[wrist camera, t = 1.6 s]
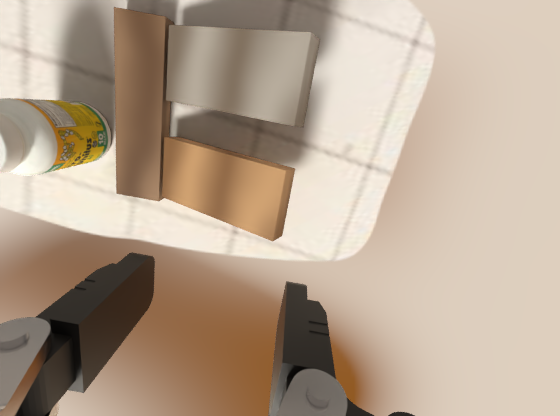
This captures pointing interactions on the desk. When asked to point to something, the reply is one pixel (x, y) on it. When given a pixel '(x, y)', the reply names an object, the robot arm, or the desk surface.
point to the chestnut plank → (227, 186)
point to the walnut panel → (140, 101)
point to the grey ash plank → (242, 71)
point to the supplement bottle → (49, 135)
